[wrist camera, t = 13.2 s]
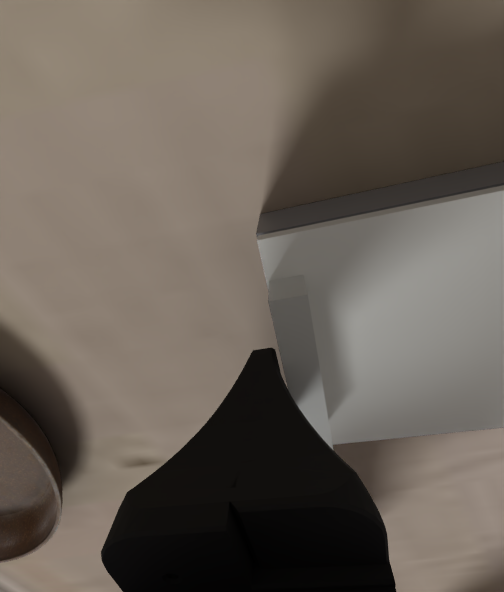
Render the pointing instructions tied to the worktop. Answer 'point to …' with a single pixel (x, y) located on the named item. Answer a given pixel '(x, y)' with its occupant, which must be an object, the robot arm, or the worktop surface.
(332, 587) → the robot arm
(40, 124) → the worktop surface
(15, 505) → the plant saucer
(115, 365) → the worktop surface
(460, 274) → the lid
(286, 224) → the housing
